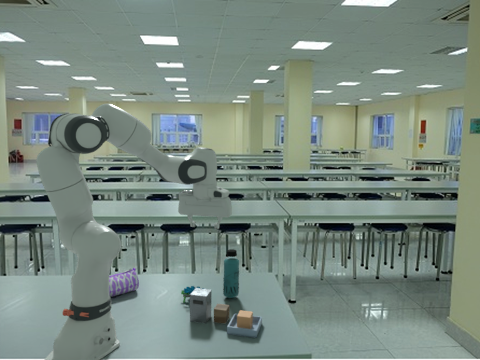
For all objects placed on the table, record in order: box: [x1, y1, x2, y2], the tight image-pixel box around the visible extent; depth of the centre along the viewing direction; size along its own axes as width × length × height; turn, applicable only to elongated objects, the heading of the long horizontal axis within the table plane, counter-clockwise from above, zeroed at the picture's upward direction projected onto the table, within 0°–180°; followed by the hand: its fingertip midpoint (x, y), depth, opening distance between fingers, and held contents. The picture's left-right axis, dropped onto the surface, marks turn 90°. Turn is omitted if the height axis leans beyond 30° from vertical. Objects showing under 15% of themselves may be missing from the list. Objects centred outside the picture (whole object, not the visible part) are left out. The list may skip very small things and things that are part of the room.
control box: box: [189, 287, 212, 324], centre depth 142 cm, size 7×6×10 cm
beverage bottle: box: [222, 248, 240, 299], centre depth 159 cm, size 6×7×20 cm
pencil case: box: [109, 267, 140, 298], centre depth 161 cm, size 22×9×10 cm, turn 133°
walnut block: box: [213, 303, 230, 325], centre depth 142 cm, size 4×4×5 cm
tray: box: [226, 313, 263, 339], centre depth 136 cm, size 10×10×3 cm
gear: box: [180, 285, 206, 304], centre depth 156 cm, size 11×6×10 cm
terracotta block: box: [237, 309, 254, 329], centre depth 135 cm, size 4×4×5 cm
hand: (204, 227), depth 149 cm, fingers open, 8 cm apart
